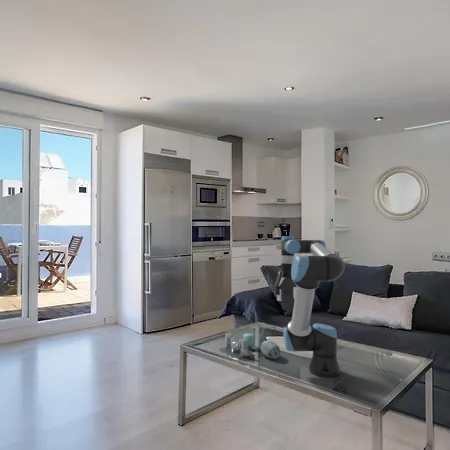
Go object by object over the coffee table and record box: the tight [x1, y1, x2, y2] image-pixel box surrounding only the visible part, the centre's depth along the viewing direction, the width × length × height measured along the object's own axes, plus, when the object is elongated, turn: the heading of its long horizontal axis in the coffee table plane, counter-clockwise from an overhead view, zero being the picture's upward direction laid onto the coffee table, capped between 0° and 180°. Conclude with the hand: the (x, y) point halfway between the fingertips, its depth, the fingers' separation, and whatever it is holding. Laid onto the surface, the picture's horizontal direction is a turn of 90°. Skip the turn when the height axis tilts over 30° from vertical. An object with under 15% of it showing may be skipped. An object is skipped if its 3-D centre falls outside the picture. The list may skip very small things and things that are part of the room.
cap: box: [240, 332, 258, 351], centre depth 228 cm, size 13×7×7 cm, turn 35°
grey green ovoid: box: [260, 340, 281, 360], centre depth 213 cm, size 14×10×10 cm
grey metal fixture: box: [218, 332, 254, 360], centre depth 219 cm, size 18×11×9 cm, turn 35°
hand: (287, 299), depth 219 cm, fingers open, 13 cm apart
